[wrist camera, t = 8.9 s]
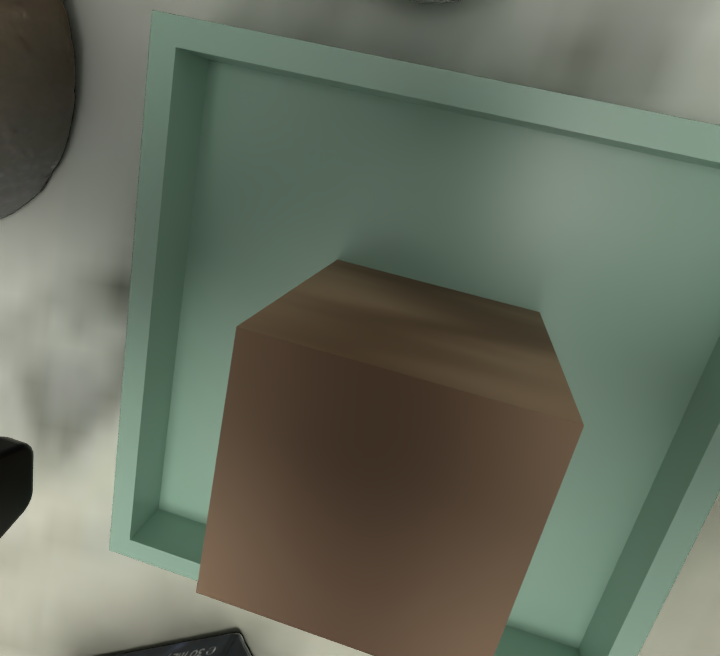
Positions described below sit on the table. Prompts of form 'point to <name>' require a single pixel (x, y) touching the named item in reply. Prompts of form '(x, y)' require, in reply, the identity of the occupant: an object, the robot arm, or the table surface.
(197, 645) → the box
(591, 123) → the tray
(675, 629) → the table surface
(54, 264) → the table surface
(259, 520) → the walnut block
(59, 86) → the pillar candle
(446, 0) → the grey tin
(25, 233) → the table surface
